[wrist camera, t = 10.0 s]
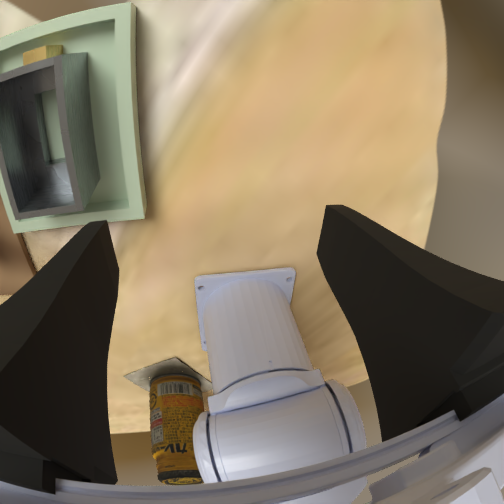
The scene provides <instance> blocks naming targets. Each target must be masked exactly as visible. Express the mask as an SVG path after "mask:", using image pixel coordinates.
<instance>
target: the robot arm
mask: <svg viewBox="0 0 504 504" xmlns="http://www.w3.org/2000/svg"><path fill="white" fill-rule="evenodd" d="M317 256H318V259H319V262H320V265H321V268H322V270H323V273H324V276H325V278H326V280H327V282H328V284H329V286H330V288H331V290H332V292H333V293H334V295H335V297H336V299H337V301H338V303H339V305H340V307H341V309H342V311H343V312H344V314H345V316H346V318H347V320H348V322H349V324H350V326H351V328H352V330H353V333H354V335H355V337H356V340H357V343H358V345H359V348H360V351H361V354H362V357H363V360H364V363H365V366H366V369H367V373H368V376H369V379H370V383H371V387H372V391H373V395H374V399H375V403H376V407H377V413H378V418H379V424H380V429H381V437H382V443H379V444H377V445H374V446H371V447H369V448H366V435H365V430H364V426H363V422H362V419H361V416H360V413H359V410H358V408H357V406H356V403H355V401H354V399H353V397H352V395H351V393H350V392H349V390H348V389H347V388H346V387H345V386H344V385H342V384H340V383H338V382H337V381H336V380H334V379H332V380H328V381H325V382H324V379H323V376H322V374H321V371H320V369H315V370H314V369H313V366H312V364H311V361H310V358H309V356H308V353H307V350H306V348H305V345H304V343H303V340H302V337H301V335H300V332H299V329H298V327H297V324H296V322H295V319H294V316H293V314H292V311H291V309H290V303H291V298H292V293H293V287H294V282H295V276H296V271H295V269H294V268H292V267H287V268H277V269H266V270H256V271H245V272H234V273H223V274H211V275H200V276H197V277H196V278H195V280H194V283H195V293H196V302H197V312H198V320H199V329H200V337H201V345H202V350H204V351H207V353H208V360H209V367H210V374H211V381H212V388H213V394H214V395H213V396H209V397H208V405H209V411H206V412H202V413H201V414H200V415H199V417H198V420H197V421H196V423H195V425H194V428H193V446H194V453H195V458H196V462H197V466H198V469H199V472H200V475H201V477H202V479H203V481H204V483H205V484H193V485H174V486H128V485H115V484H116V482H117V481H118V479H117V474H116V470H115V464H114V458H113V452H112V446H111V438H110V429H109V419H108V402H107V361H108V351H109V344H110V338H111V332H112V326H113V320H114V314H115V308H116V303H117V297H118V284H119V267H118V263H117V259H116V256H115V252H114V248H113V244H112V240H111V235H110V231H109V227H108V222H107V220H102V221H92V222H89V223H88V224H86V225H85V226H84V227H83V228H82V229H81V230H80V231H79V232H78V233H77V234H76V235H75V236H74V237H73V238H72V239H71V240H70V241H69V242H68V243H67V244H66V245H65V246H64V247H63V248H62V249H61V250H60V251H59V252H58V253H57V254H56V255H55V256H54V257H53V258H52V259H51V260H50V261H49V262H48V263H47V264H46V265H45V266H43V267H42V268H41V269H40V270H39V271H38V272H37V273H36V274H35V275H34V276H33V277H32V278H31V279H30V280H29V281H28V282H27V283H26V284H25V285H24V286H23V287H21V288H20V289H19V290H18V291H17V292H16V293H15V294H13V295H12V296H11V297H10V298H9V299H8V300H6V301H5V302H4V303H3V304H1V305H0V504H351V503H352V502H353V501H354V500H355V499H356V497H357V496H358V495H359V494H360V493H361V491H362V490H363V489H364V488H365V486H366V485H367V483H368V482H367V476H368V475H370V474H373V473H376V472H378V471H380V470H383V469H385V468H388V467H390V466H392V465H395V464H397V463H399V462H401V461H404V460H406V459H408V458H410V457H412V456H414V455H416V454H418V453H420V452H421V453H420V455H419V457H418V459H417V460H415V461H413V462H411V463H409V464H407V465H405V466H403V467H401V468H399V469H398V470H397V471H395V472H394V473H392V474H390V475H388V476H387V477H385V478H383V479H381V480H379V481H377V482H375V483H373V484H371V485H370V486H369V490H370V492H371V495H372V501H370V502H368V503H365V504H504V498H503V495H502V493H501V489H502V487H503V486H504V281H501V280H497V279H494V278H491V277H487V276H485V275H482V274H479V273H476V272H473V271H471V270H468V269H466V268H463V267H460V266H458V265H455V264H453V263H451V262H449V261H446V260H444V259H442V258H440V257H438V256H436V255H434V254H432V253H429V252H428V251H426V250H424V249H422V248H420V247H418V246H416V245H414V244H412V243H411V242H409V241H407V240H405V239H403V238H402V237H400V236H398V235H396V234H395V233H393V232H391V231H390V230H388V229H386V228H384V227H383V226H381V225H379V224H378V223H376V222H374V221H373V220H371V219H369V218H367V217H366V216H364V215H362V214H360V213H358V212H357V211H355V210H353V209H351V208H349V207H346V206H344V205H326V209H325V214H324V219H323V224H322V229H321V234H320V239H319V244H318V249H317ZM288 277H290V278H288ZM287 278H288V279H287ZM199 286H203V287H199Z"/></svg>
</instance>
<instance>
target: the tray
mask: <svg viewBox="0 0 504 504" xmlns="http://www.w3.org/2000/svg"><path fill="white" fill-rule="evenodd" d="M46 45H63V54H71V53H81V52H88V71H89V87H90V100H91V110H92V120H93V129H94V137H95V144H96V151H97V158H98V165H99V171H100V177H101V179H100V181H99V182H98V184H97V186H96V188H95V190H94V192H93V194H92V196H91V198H90V200H89V202H88V204H87V206H86V208H85V210H84V211H77V212H69V213H62V214H55V215H48V216H41V217H34V218H27V219H21V220H15V217H14V214H13V211H12V208H11V205H10V202H9V199H8V195H7V192H6V189H5V185H4V181H3V178H2V174H1V170H0V194H1V197H2V200H3V203H4V207H5V210H6V213H7V216H8V219H9V221H10V224H11V227H12V230H13V233H14V234H15V233H22V232H30V231H37V230H45V229H53V228H61V227H69V226H78V225H86V224H88V223H89V222H92V221H102V220H107V222H115V221H125V220H135V219H145V213H146V208H147V200H146V192H145V184H144V175H143V166H142V156H141V145H140V134H139V120H138V104H137V83H136V6H135V5H134V4H133V3H132V2H127V3H121V4H115V5H109V6H104V7H99V8H94V9H90V10H85V11H81V12H77V13H73V14H69V15H65V16H62V17H58V18H55V19H51V20H48V21H45V22H42V23H39V24H36V25H33V26H30V27H27V28H24V29H22V30H19V31H16V32H14V33H11V34H9V35H6V36H4V37H2V38H0V74H2V73H5V72H7V71H10V70H13V69H16V68H19V67H21V66H23V53H24V52H27V51H30V50H33V49H36V48H39V47H43V46H46ZM41 93H42V102H43V110H44V118H45V125H46V131H47V137H48V143H49V149H50V154H51V159H52V160H54V159H59V158H65V154H64V148H63V142H62V136H61V129H60V122H59V115H58V106H57V97H56V89H52V90H48V91H44V92H41Z"/></svg>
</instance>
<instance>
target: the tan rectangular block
mask: <svg viewBox="0 0 504 504" xmlns="http://www.w3.org/2000/svg"><path fill="white" fill-rule="evenodd" d="M35 274H36V271H35V268H34V266H33V263H32V261H31V259H30V256H29V254H28V251H27V249H26V246H25V244H24V241H23V238H22V236H21V233H15V234H14V233H13V230H12V227H11V224H10V221H9V219H8V216H7V213H6V210H5V207H4V203H3V200H2V197H1V194H0V295H6V294H15V293H16V292H17V291H18V290H19V289H20V288H21V287H23V286H24V285H25V284H26V283H27V282H28V281H29V280H30V279H31V278H32V277H33V276H34V275H35Z"/></svg>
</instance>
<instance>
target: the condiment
mask: <svg viewBox="0 0 504 504" xmlns="http://www.w3.org/2000/svg"><path fill="white" fill-rule="evenodd" d="M182 371H183V372H182ZM124 377H125V378H127V379H128V380H130V381H132V382H133V383H134V384H136V385H138V386H140V387H141V388H143V389H145V390H147V391H149V392H150V394H149V395H150V401H149V402H150V424H151V426H150V429H151V443H152V455H153V457H154V458H155V460H156V461H157V466H156V467H157V470H158V480H159V481H161V482H162V483H164V484H170V485H193V484H201V483H204V481H203V479H202V477H201V475H200V472H199V469H198V466H197V462H196V458H195V453H194V446H193V428H194V425H195V423H196V421H197V420H198V417H199V415H200V414H201V413H202V412H204V406H203V398H202V392H207V391H209V390H212V389H213V388H212V383H211V382H209V381H208V380H207V379H205V378H204V377H202V376H201V375H199V374H198V373H196V372H194V371H193V370H192V369H191V368H189V367H188V366H187V365H185V364H184V363H182V362H180V361H179V360H178V359H177V358H172V359H170V360H165V361H162V362H160V363H157V364H153V365H151V366H148V367H146V368H142V369H141V370H138V371H136V372H132V373H130V374H128V375H125V376H124ZM149 377H150V378H149ZM149 379H150V380H149Z"/></svg>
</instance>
